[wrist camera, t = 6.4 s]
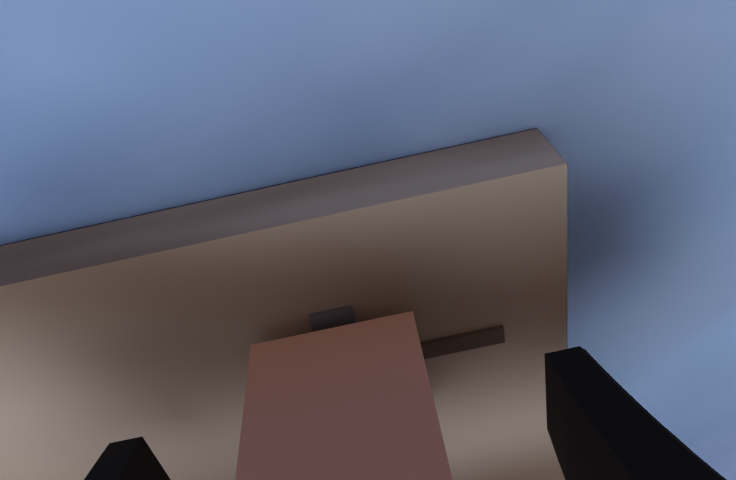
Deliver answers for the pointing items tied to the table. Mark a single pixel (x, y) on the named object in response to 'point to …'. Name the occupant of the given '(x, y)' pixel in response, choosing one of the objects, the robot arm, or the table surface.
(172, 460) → the console
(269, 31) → the table surface
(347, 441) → the fader
